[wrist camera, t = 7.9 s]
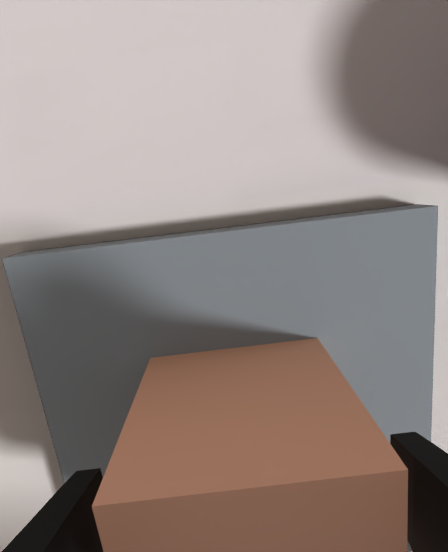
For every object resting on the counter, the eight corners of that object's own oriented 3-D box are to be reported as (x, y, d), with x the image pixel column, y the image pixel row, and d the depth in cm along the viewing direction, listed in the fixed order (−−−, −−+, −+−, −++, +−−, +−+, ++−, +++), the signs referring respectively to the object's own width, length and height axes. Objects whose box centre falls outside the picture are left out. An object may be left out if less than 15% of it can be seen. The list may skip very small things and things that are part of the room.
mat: (412, 522, 13) (427, 548, 12) (101, 557, 13) (92, 586, 12) (417, 204, 10) (437, 206, 9) (21, 252, 10) (1, 258, 10)
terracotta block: (325, 477, 11) (405, 686, 7) (175, 494, 12) (146, 715, 7) (317, 338, 10) (408, 469, 5) (150, 357, 10) (92, 506, 5)
